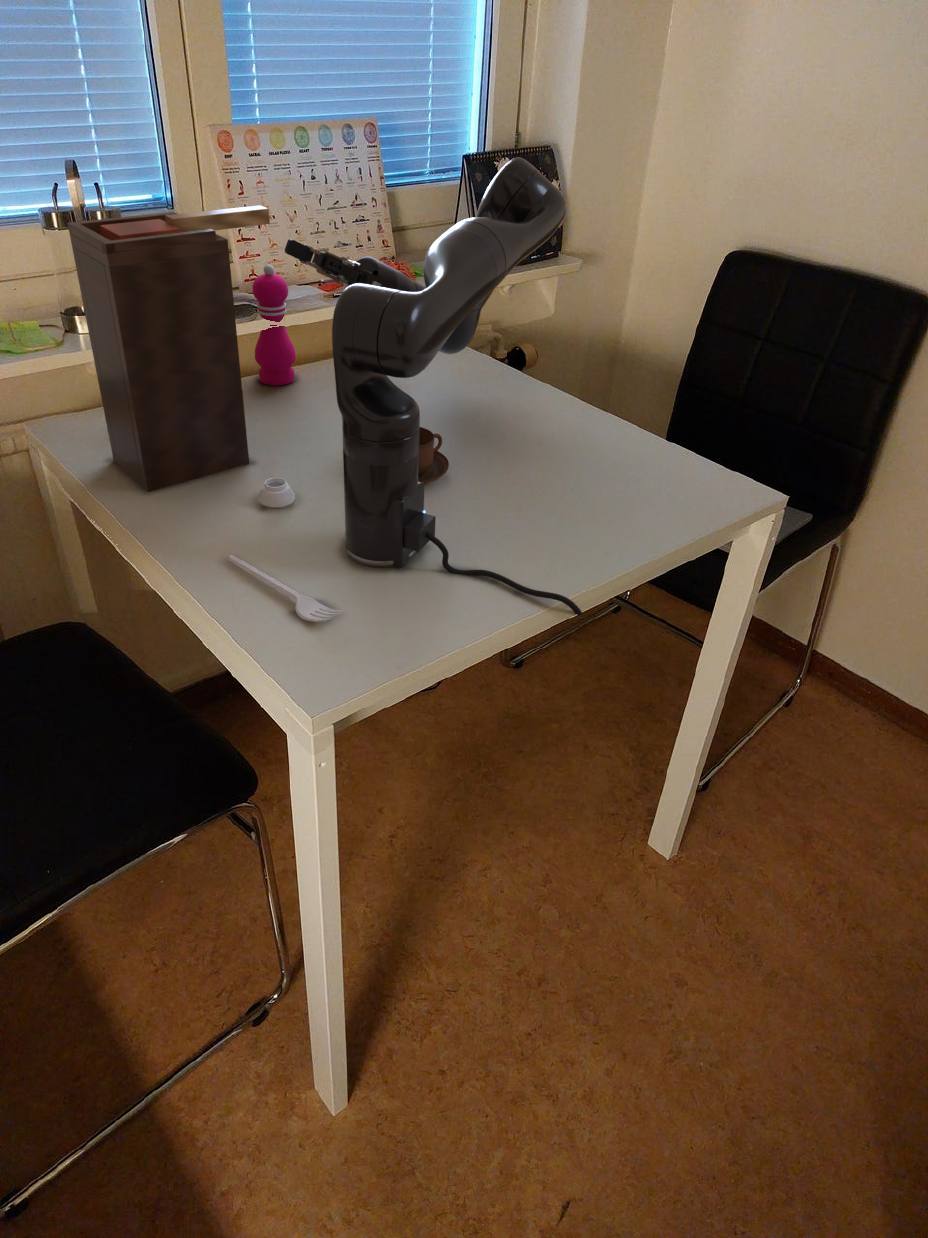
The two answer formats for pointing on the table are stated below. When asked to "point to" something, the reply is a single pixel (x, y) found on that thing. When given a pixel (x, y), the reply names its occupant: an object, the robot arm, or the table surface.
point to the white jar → (276, 493)
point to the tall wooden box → (164, 349)
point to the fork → (291, 595)
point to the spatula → (189, 222)
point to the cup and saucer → (430, 457)
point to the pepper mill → (273, 330)
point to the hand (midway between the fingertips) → (303, 251)
